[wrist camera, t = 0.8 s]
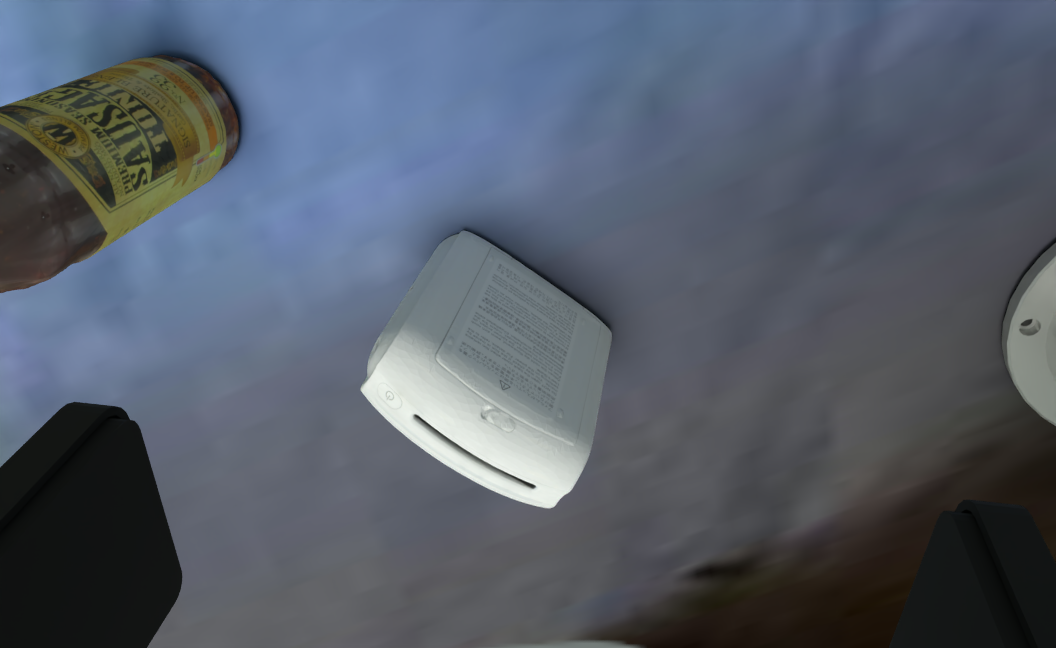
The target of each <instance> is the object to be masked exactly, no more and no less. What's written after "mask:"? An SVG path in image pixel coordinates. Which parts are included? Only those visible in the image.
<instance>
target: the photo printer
mask: <svg viewBox="0 0 1056 648" xmlns="http://www.w3.org/2000/svg"><path fill="white" fill-rule="evenodd" d="M611 340H612V333H611V331H610V330H609V328H608V327H607V326H606V325H605V324H604V323H603V322H601V321H600V320H599V319H598V318H597V317H596V316H595V315H594V314H592V313H591V312H590V311H588V310H587V309H586V308H584V307H583V306H581V305H580V304H579V303H577V302H576V301H575V300H573V299H572V298H570V297H569V296H567V295H566V294H564V293H563V292H562V291H560V290H559V289H558V288H556V287H555V286H553V285H552V284H550V283H549V282H547V281H546V280H545V279H543V278H542V277H540V276H539V275H537V274H536V273H534V272H533V271H531V270H530V269H528V268H527V267H525V266H524V265H523V264H521V263H520V262H518V261H517V260H515V259H514V258H512V257H511V256H510V255H508V254H507V253H505V252H503V251H502V250H500V249H499V248H497V247H495V246H494V245H492V244H491V243H489V242H487V241H486V240H484V239H482V238H480V237H479V236H477V235H475V234H473V233H470V232H468V231H461V232H460V233H459V234H456V235H453V236H450V237H448V238H447V239H445V240H444V241H443V242H441V243H440V244H439V245H438V247H437V248H436V249H435V251H434V253H433V254H432V256H431V257H430V259H429V260H428V262H427V263H426V265H425V266H424V268H423V269H422V271H421V272H420V274H419V275H418V277H417V279H416V280H415V282H414V283H413V285H412V286H411V288H410V289H409V291H408V292H407V294H406V296H405V297H404V299H403V300H402V302H401V303H400V305H399V306H398V308H397V309H396V311H395V313H394V314H393V316H392V317H391V319H390V320H389V322H388V324H387V325H386V327H385V328H384V330H383V331H382V333H381V335H380V336H379V338H378V339H377V341H376V343H375V345H374V347H373V349H372V352H371V355H370V357H369V360H368V367H367V373H368V376H367V377H366V379H365V381H364V382H363V384H362V386H361V391H362V393H363V394H364V395H365V397H366V398H367V399H368V400H369V402H370V403H371V404H372V405H373V406H374V407H375V408H376V409H377V410H378V411H379V413H381V414H382V415H383V416H384V417H385V418H386V419H387V420H388V421H389V422H390V423H391V424H392V425H393V426H394V427H396V428H397V429H398V430H399V431H400V432H401V433H403V434H404V435H405V436H406V437H408V438H409V439H410V440H411V441H413V442H414V443H415V444H417V445H418V446H419V447H421V448H422V449H423V450H425V451H426V452H428V453H429V454H430V455H432V456H433V457H435V458H436V459H438V460H439V461H441V462H442V463H444V464H445V465H447V466H449V467H450V468H452V469H454V470H455V471H457V472H459V473H460V474H462V475H464V476H465V477H467V478H469V479H471V480H473V481H474V482H476V483H478V484H480V485H482V486H484V487H486V488H488V489H490V490H493V491H495V492H497V493H499V494H502V495H504V496H507V497H509V498H512V499H514V500H517V501H520V502H523V503H527V504H531V505H534V506H539V507H544V508H552V507H554V506H555V505H556V504H557V502H558V501H559V500H560V499H561V498H562V497H563V496H564V495H565V494H567V493H569V492H570V491H571V490H572V488H573V487H574V485H575V483H576V482H577V480H578V478H579V476H580V474H581V472H582V471H583V469H584V466H585V464H586V462H587V459H588V457H589V454H590V451H591V448H592V443H593V438H594V433H595V427H596V422H597V417H598V411H599V405H600V400H601V394H602V389H603V383H604V378H605V373H606V367H607V362H608V357H609V352H610V347H611Z"/></svg>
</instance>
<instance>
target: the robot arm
mask: <svg viewBox="0 0 1056 648" xmlns="http://www.w3.org/2000/svg"><path fill="white" fill-rule="evenodd" d="M1001 345H1002V351H1003V356H1004V362H1005V366H1006V368H1007V370H1008V372H1009V374H1010V377H1011V379H1012V381H1013V383H1014V385H1015V386H1016V388H1017V389H1018V391H1019V392H1020V394H1021V395H1022V397H1023V399H1024V400H1025V402H1026V403H1027V404H1028V405H1029V406H1031V407H1032V408H1033V409H1034V410H1035V411H1036V412H1037V413H1038V414H1039V415H1040V416H1041V417H1042V418H1044V419H1046V420H1047V421H1049V422H1050V423H1052V424H1053V425H1055V426H1056V243H1055V244H1054V245H1052V246H1051V247H1050V248H1049V249H1048V250H1047V251H1045V252H1044V253H1043V254H1042V255H1041V256H1040V257H1039V259H1038V260H1037V261H1036V262H1035V263H1034V265H1033V266H1032V267H1031V268H1030V269H1029V271H1028V272H1027V273H1026V274H1025V275H1024V277H1023V278H1022V280H1021V282H1020V283H1019V285H1018V287H1017V289H1016V291H1015V292H1014V294H1013V296H1012V298H1011V299H1010V302H1009V305H1008V309H1007V312H1006V315H1005V318H1004V321H1003V330H1002V343H1001ZM181 584H182V571H181V567H180V563H179V560H178V557H177V553H176V550H175V546H174V543H173V540H172V536H171V533H170V529H169V526H168V522H167V519H166V516H165V512H164V509H163V505H162V502H161V499H160V495H159V492H158V488H157V485H156V481H155V478H154V475H153V471H152V468H151V464H150V461H149V457H148V454H147V451H146V447H145V444H144V440H143V437H142V434H141V430H140V428H139V426H138V424H137V423H136V422H135V421H132V420H130V419H129V417H128V415H127V413H126V412H125V411H124V410H123V409H122V408H120V407H116V406H107V405H98V404H89V403H80V402H73V403H69V404H66V405H65V406H64V407H62V408H61V409H60V410H59V411H58V412H57V413H56V414H55V415H54V416H53V417H52V418H51V419H49V420H48V421H47V422H46V423H45V424H44V425H43V426H42V427H41V428H40V429H39V430H38V431H37V432H36V433H35V434H34V435H33V436H32V437H31V438H30V439H29V440H28V441H27V442H26V443H25V444H24V445H23V446H22V447H21V448H20V449H19V450H18V451H17V452H16V453H15V454H14V455H13V456H12V457H11V458H10V459H9V460H7V461H6V462H5V463H4V464H3V465H2V466H1V467H0V648H147V647H148V645H149V643H150V642H151V640H152V639H153V637H154V635H155V634H156V632H157V631H158V629H159V627H160V626H161V624H162V623H163V621H164V619H165V618H166V616H167V615H168V613H169V612H170V610H171V608H172V607H173V605H174V604H175V602H176V600H177V598H178V595H179V592H180V589H181ZM889 648H1056V563H1055V561H1054V559H1053V557H1052V555H1051V553H1050V551H1049V549H1048V547H1047V545H1046V543H1045V541H1044V539H1043V537H1042V535H1041V534H1040V532H1039V530H1038V528H1037V526H1036V524H1035V522H1034V520H1033V518H1032V516H1031V515H1030V513H1029V512H1028V510H1027V509H1026V508H1024V507H1022V506H1021V505H1012V504H1003V503H994V502H985V501H975V500H963V501H962V502H961V503H960V504H959V505H958V507H957V509H956V511H955V512H952V511H943V512H942V513H941V514H940V516H939V518H938V520H937V522H936V525H935V528H934V530H933V533H932V536H931V538H930V541H929V544H928V546H927V549H926V551H925V554H924V557H923V559H922V562H921V565H920V567H919V570H918V573H917V575H916V578H915V580H914V583H913V586H912V588H911V591H910V594H909V596H908V599H907V602H906V604H905V607H904V610H903V612H902V615H901V617H900V620H899V623H898V625H897V628H896V631H895V633H894V636H893V639H892V641H891V644H890V646H889Z"/></svg>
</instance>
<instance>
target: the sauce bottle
mask: <svg viewBox="0 0 1056 648" xmlns="http://www.w3.org/2000/svg"><path fill="white" fill-rule="evenodd" d="M238 140H239V126H238V119H237V115H236V113H235V110H234V108H233V106H232V104H231V102H230V99H229V98H228V96H227V94H226V92H225V91H224V89H223V88H222V87H221V85H220V83H219V82H218V81H216V80H215V79H213V77H212V75H211V74H210V73H209V72H208V71H206V70H204V69H202V68H200V67H199V66H197V65H195V64H193V63H191V62H187V61H185V60H182V59H180V58H173V57H169V56H166V55H158V56H154V57H152V58H138V59H133V60H130V61H127V62H124V63H121V64H118V65H115V66H113V67H110V68H107V69H104V70H102V71H99V72H96V73H94V74H91V75H88V76H86V77H83V78H80V79H77V80H75V81H72V82H69V83H66V84H64V85H61V86H58V87H55V88H53V89H50V90H47V91H44V92H42V93H39V94H36V95H33V96H30V97H28V98H25V99H22V100H19V101H16V102H13V103H11V104H8V105H5V106H2V107H0V293H4V292H6V291H12V290H17V289H26V288H29V287H31V286H34V285H36V284H38V283H41V282H44V281H46V280H49V279H51V278H52V277H54V276H56V275H57V274H59V273H60V272H61V271H63V270H64V269H66V268H67V267H68V266H69V265H71V264H73V263H77V262H81V261H83V260H85V259H88V258H89V257H91V256H92V255H94V254H96V253H97V252H99V251H100V250H102V249H103V248H105V247H106V246H108V245H110V244H111V243H113V242H114V241H116V240H117V239H119V238H120V237H122V236H123V235H125V234H127V233H128V232H130V231H131V230H133V229H134V228H136V227H138V226H139V225H141V224H142V223H144V222H145V221H147V220H149V219H150V218H152V217H153V216H155V215H156V214H158V213H160V212H161V211H163V210H164V209H166V208H168V207H169V206H171V205H172V204H174V203H175V202H177V201H179V200H180V199H182V198H183V197H185V196H186V195H188V194H190V193H191V192H193V191H194V190H196V189H197V188H199V187H201V186H202V185H204V184H205V183H207V182H208V181H210V180H211V179H212V178H213V177H214V176H215V174H216V173H217V172H218V171H220V170H221V169H222V168H223V167H224V166H226V165H227V164H228V162H229V161H230V160H231V159H232V157H233V155H234V153H235V151H236V148H237V144H238Z"/></svg>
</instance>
